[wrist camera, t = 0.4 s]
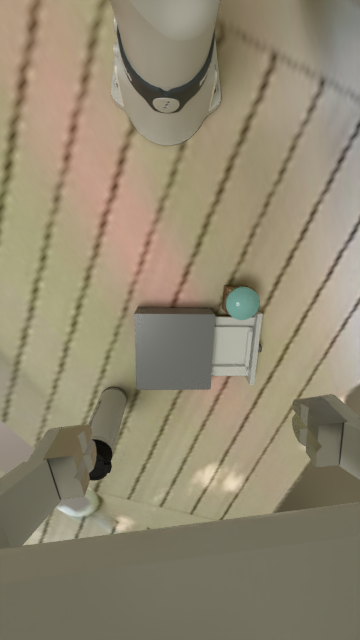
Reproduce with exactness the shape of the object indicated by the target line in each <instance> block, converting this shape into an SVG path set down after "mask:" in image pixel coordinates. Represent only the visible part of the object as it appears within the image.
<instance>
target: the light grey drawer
mask: <svg viewBox="0 0 360 640" xmlns="http://www.w3.org/2000/svg"><path fill="white" fill-rule="evenodd" d="M262 315H263V314H262V313H261V312H259V311H257V312H256V314H255V315H254V316H252V317H251V318H249V319H246V320H237V319H235V318H233V317H232V316H215V327H214V342H213V357H212V372H211V376H245V378H246V379H247V381H248V383H249V384H250V385H254V381H255V372H256V364H257V356H258V352H261V351H262V346H261V344H259V340H260V332H261V323H262Z"/></svg>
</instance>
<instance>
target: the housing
mask: <svg viewBox="0 0 360 640" xmlns="http://www.w3.org/2000/svg"><path fill="white" fill-rule="evenodd" d="M134 316H135V350H136V383H137V390H190V389H210V387H211V372H212V357H213V342H214V327H215V313H213V312H212V309H211V308H149V307H137V309H136V311H135V314H134Z"/></svg>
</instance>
